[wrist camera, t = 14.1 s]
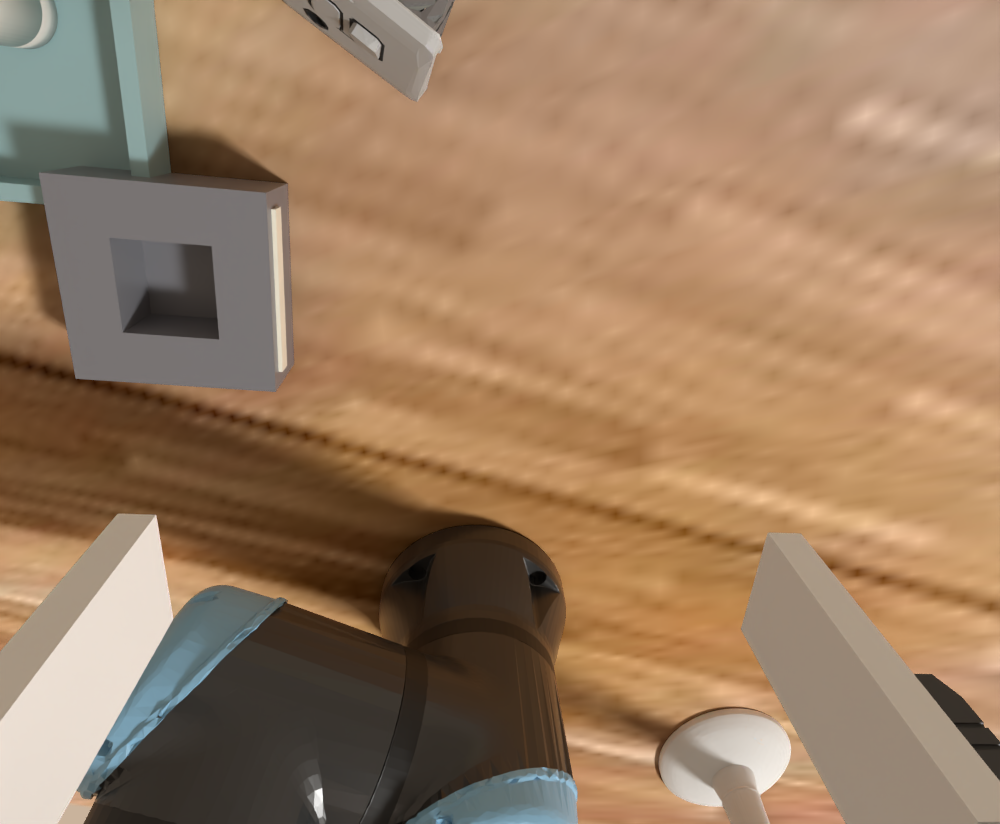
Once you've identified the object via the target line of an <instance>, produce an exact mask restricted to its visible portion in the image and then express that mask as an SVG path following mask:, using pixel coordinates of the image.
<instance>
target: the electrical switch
mask: <svg viewBox="0 0 1000 824" xmlns="http://www.w3.org/2000/svg"><path fill="white" fill-rule="evenodd" d="M283 1H284V2H285V3H286V4H287V5H288V6H289V7H291V8H292V9H293V10H295V11H296V12H297V13H298V14H300V15H301V16H302V17H304V18H305V19H306V20H308V21H309V22H310V23H311V24H313V25H314V26H315V27H317V28H318V29H319V30H321V31H322V32H323V33H324V34H326V35H327V36H328V37H330V38H331V39H332V40H333V41H335V42H336V43H337V44H339V45H340V46H341V47H343V48H344V49H345V50H346V51H348V52H349V53H350V54H352V55H353V56H354V57H356V58H357V59H358V60H359V61H361V62H362V63H363V64H365V65H366V66H367V67H369V68H370V69H371V70H372V71H374V72H375V73H376V74H378V75H379V76H380V77H382V78H383V79H384V80H385V81H387V82H388V83H389V84H391V85H392V86H393V87H395V88H396V89H397V90H398V91H400V92H401V93H402V94H404V95H405V96H406V97H408V98H409V99H411V100H413V101H416V102H417V101H418V100H419V99H420V97H421V96H422V95H423V93H424V92H425V91H426V89H427V86H428V82H429V78H430V75H431V71H432V68H433V64H434V61H435V57H436V55H437V53H440V52H441V50H442V48H443V45H442V41H441V36H442V33H443V30H444V28H445V25H446V22H447V19H448V17H449V14H450V11H451V8H452V6H453V3H454V0H283ZM425 8H426V9H425Z"/></svg>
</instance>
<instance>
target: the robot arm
mask: <svg viewBox="0 0 1000 824" xmlns="http://www.w3.org/2000/svg"><path fill="white" fill-rule="evenodd" d="M287 601H288V600H286V599H284V598H281V597H279V598H277V599H273V598H270V597H266V596H263V595H260V594H257V593H253V592H250V591H247V590H243V589H240V588H237V587H233V586H228V585H217V586H212V587H209V588H207V589H205V590H203V591H201V592H199V593H198V594H196V595H195V596H194V597H193V598H191V599H190V600H189V601H188V602H187V603H186V604H185V605H184V607H183V608H182V609H181V610H180V611H179V613H178V614H177V615H176V616H175V618H174V619H173V614H172V608H171V602H170V596H169V590H168V584H167V577H166V571H165V565H164V559H163V553H162V547H161V541H160V535H159V529H158V523H157V516H156V515H150V514H117V515H116V516H115V517H114V519H113V520H112V521H111V522H110V523H109V524H108V526H107V527H106V528H105V529H104V530H103V531H102V533H101V534H100V535H99V536H98V537H97V539H96V540H95V541H94V542H93V543H92V544H91V546H90V547H89V548H88V549H87V550H86V551H85V553H84V554H83V555H82V556H81V557H80V558H79V560H78V561H77V562H76V563H75V564H74V565H73V567H72V568H71V569H70V570H69V571H68V573H67V574H66V575H65V576H64V577H63V578H62V580H61V581H60V582H59V583H58V584H57V585H56V587H55V588H54V589H53V590H52V591H51V592H50V594H49V595H48V596H47V597H46V598H45V600H44V601H43V602H42V603H41V604H40V605H39V607H38V608H37V609H36V610H35V611H34V612H33V614H32V615H31V616H30V617H29V618H28V619H27V621H26V622H25V623H24V624H23V625H22V627H21V628H20V629H19V630H18V631H17V632H16V634H15V635H14V636H13V637H12V638H11V639H10V641H9V642H8V643H7V644H6V645H5V646H4V648H3V649H2V650H1V651H0V824H58V822H59V820H60V819H61V817H62V815H63V813H64V811H65V810H66V808H67V806H68V804H69V803H70V801H71V799H72V797H73V796H74V794H75V792H76V790H77V791H78V792H80V794H81V797H82V798H83V799H92V798H93V796H97V797H96V799H95V802H94V804H93V806H92V808H91V810H90V812H89V814H88V816H87V818H86V820H85V822H84V824H578V819H577V806H576V802H577V787H576V785H575V781H574V780H573V776H572V770H571V764H570V759H569V753H568V747H567V742H566V736H565V730H564V725H563V719H562V713H561V707H560V702H559V696H558V690H557V684H556V679H555V672H554V665H555V661H556V657H557V653H558V649H559V645H560V641H561V637H562V633H563V629H564V625H565V618H566V605H565V598H564V593H563V588H562V583H561V579H560V576H559V574H558V571H557V569H556V567H555V566H554V564H553V562H552V561H551V559H550V558H549V557H548V556H547V555H546V553H545V552H544V551H543V550H542V549H540V548H539V547H538V546H537V545H536V544H534V543H533V542H531V541H530V540H528V539H526V538H525V537H523V536H521V535H519V534H516V533H514V532H511V531H508V530H505V529H501V528H497V527H491V526H482V525H466V526H457V527H451V528H447V529H443V530H440V531H437V532H434V533H432V534H430V535H427V536H425V537H423V538H421V539H420V540H418V541H416V542H415V543H413V544H412V545H411V546H409V547H408V548H407V549H406V550H405V551H403V552H402V553H401V554H400V555H399V557H398V558H397V559H396V560H395V561H394V563H393V564H392V566H391V567H390V569H389V571H388V573H387V575H386V577H385V580H384V583H383V588H382V593H381V600H380V606H379V623H380V630H381V634H382V637H383V638H382V637H379V636H376V635H373V634H371V633H368V632H365V631H362V630H360V629H357V628H354V627H351V626H348V625H346V624H343V623H340V622H337V621H335V620H332V619H329V618H326V617H324V616H321V615H318V614H315V613H312V612H310V611H307V610H304V609H301V608H299V607H296V606H293V605H290V604H288V603H287ZM741 630H742V632H743V634H744V636H745V638H746V639H747V641H748V643H749V645H750V647H751V649H752V651H753V652H754V654H755V656H756V658H757V660H758V662H759V664H760V665H761V667H762V669H763V671H764V673H765V675H766V677H767V678H768V680H769V682H770V684H771V686H772V688H773V690H774V691H775V693H776V695H777V697H778V699H779V701H780V702H781V704H782V706H783V708H784V710H785V712H786V714H787V715H788V717H789V719H790V721H791V723H792V725H793V727H794V728H795V730H796V732H797V734H798V736H799V738H800V740H801V741H802V743H803V745H804V747H805V749H806V751H807V753H808V754H809V756H810V758H811V760H812V762H813V764H814V766H815V767H816V769H817V771H818V773H819V775H820V777H821V778H822V780H823V782H824V784H825V786H826V788H827V790H828V791H829V793H830V795H831V797H832V799H833V801H834V803H835V804H836V806H837V808H838V810H839V812H840V814H841V816H842V817H843V819H844V821H845V823H846V824H1000V741H999V740H998V739H997V738H996V737H995V735H994V734H993V733H992V732H991V731H990V730H989V728H985V727H984V723H983V721H982V720H981V719H980V718H979V717H978V716H977V714H976V713H975V712H974V711H973V710H972V708H971V707H970V706H969V705H968V704H967V703H966V701H965V700H964V699H963V698H962V697H961V696H960V695H958V694H957V693H956V692H955V691H953V690H952V689H951V688H949V687H948V686H947V685H945V684H944V683H943V682H941V681H940V680H939V679H937V678H936V677H935V676H933V675H932V674H913V672H912V671H911V670H910V669H909V667H908V666H907V665H906V664H905V662H904V661H903V660H902V659H901V657H900V656H899V655H898V654H897V653H896V651H895V650H894V649H893V648H892V646H891V645H890V644H889V643H888V641H887V640H886V639H885V638H884V636H883V635H882V634H881V633H880V631H879V630H878V629H877V628H876V626H875V625H874V624H873V623H872V621H871V620H870V619H869V618H868V616H867V615H866V614H865V613H864V611H863V610H862V609H861V608H860V606H859V605H858V604H857V603H856V601H855V600H854V599H853V598H852V597H851V595H850V594H849V593H848V592H847V590H846V589H845V588H844V587H843V585H842V584H841V583H840V582H839V580H838V579H837V578H836V577H835V575H834V574H833V573H832V572H831V570H830V569H829V568H828V567H827V565H826V564H825V563H824V562H823V560H822V559H821V558H820V557H819V555H818V554H817V553H816V552H815V550H814V549H813V548H812V547H811V545H810V544H809V543H808V542H807V540H806V539H805V538H804V537H803V536H802V534H798V533H768V534H767V537H766V541H765V545H764V548H763V552H762V555H761V559H760V563H759V566H758V570H757V573H756V577H755V581H754V584H753V588H752V591H751V595H750V599H749V602H748V606H747V609H746V613H745V617H744V620H743V624H742V627H741Z"/></svg>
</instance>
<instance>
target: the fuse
mask: <svg viewBox="0 0 1000 824" xmlns="http://www.w3.org/2000/svg"><path fill="white" fill-rule="evenodd" d="M57 23H58V14H57V8H56V5H55V2H54V0H0V46H8V47H15V48H22V49H36V48H40V47H42V46H44V45H45V44H47V43H48V42H49V41H50V40H51V39H52V37H53V36H54V34H55V32H56V29H57Z"/></svg>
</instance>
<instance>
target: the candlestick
mask: <svg viewBox="0 0 1000 824" xmlns="http://www.w3.org/2000/svg"><path fill="white" fill-rule="evenodd" d="M790 755H791V745H790V741H789V738H788V736H787V734H786V732H785V730H784V728H783V727H782V726H781V725H780V723H779V722H777V721H776V720H775V719H774V718H772V717H771V716H769V715H767V714H765V713H762V712H759V711H756V710H751V709H743V708H730V709H722V710H716V711H712V712H708V713H705V714H703V715H700V716H698V717H695V718H693V719H692V720H690V721H688V722H686V723H685V724H683V725H682V726H680V727H679V728H678V729H677V730H676V731H674V732H673V733H672V734H671V736H670V737H669V738H668V739H667V741H666V742H665V744H664V745H663V747H662V749H661V752H660V755H659V771H660V774H661V777H662V780H663V782H664V784H665V785H666V787H667V788H668V789H669V790H670V791H671V792H672V793H673V794H675V795H676V796H678V797H680V798H681V799H683V800H686V801H688V802H691V803H695V804H698V805H704V806H723V808H724V809H725V811H726V813H727V816H728V818H729V820H730V823H731V824H770V823H769V820H768V817H767V814H766V812H765V809H764V806H763V803H762V801H761V796H760V794H762V793H763V792H765V791H766V790H768V789H769V788H770V787H771V786H772V785H773V784H774V783H775V782H776V781H777V780H778V779H779V778H780V777H781V775H782V774H783V772H784V771H785V769H786V767H787V765H788V762H789V760H790Z"/></svg>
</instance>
